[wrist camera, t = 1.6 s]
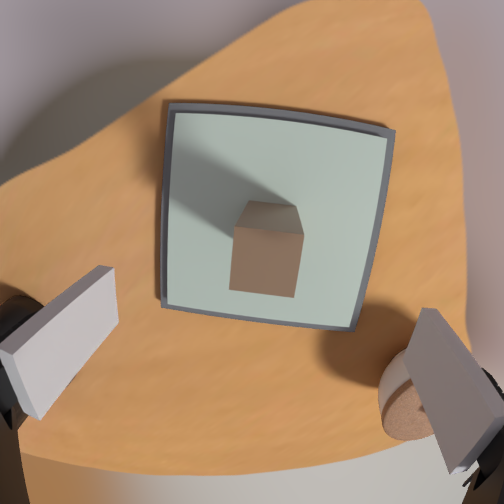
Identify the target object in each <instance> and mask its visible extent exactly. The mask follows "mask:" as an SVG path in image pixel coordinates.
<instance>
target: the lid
mask: <svg viewBox="0 0 504 504" xmlns="http://www.w3.org/2000/svg"><path fill="white" fill-rule="evenodd" d="M386 144H387V138H382V137H378V136H373V135H368V134H363V133H358V132H353V131H348V130H342V129H337V128H331V127H325V126H319V125H312V124H305V123H298V122H291V121H283V120H274V119H265V118H255V117H244V116H231V115H215V114H193V113H176V115H175V125H174V136H173V148H172V161H171V176H170V194H169V216H168V256H167V299H168V304H170V305H176V306H182V307H188V308H194V309H201V310H207V311H214V312H221V313H227V314H235V315H242V316H249V317H257V318H265V319H273V320H281V321H290V322H299V323H309V324H319V325H329V326H340V327H349V326H350V322H351V319H352V315H353V311H354V308H355V304H356V300H357V296H358V292H359V288H360V284H361V280H362V276H363V272H364V268H365V263H366V259H367V254H368V250H369V245H370V240H371V236H372V231H373V226H374V220H375V215H376V210H377V204H378V198H379V192H380V186H381V180H382V174H383V167H384V160H385V152H386Z"/></svg>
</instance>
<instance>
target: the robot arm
mask: <svg viewBox="0 0 504 504" xmlns="http://www.w3.org/2000/svg"><path fill="white" fill-rule="evenodd" d="M118 323H119V320H118V311H117V301H116V290H115V276H114V268H113V267H107V266H102V265H99V266H97V267H96V268H94V269H93V270H92V271H90V272H89V273H88V274H86V275H85V276H84V277H82V278H81V279H80V280H78V281H77V282H76V283H74V284H73V285H72V286H70V287H69V288H68V289H66V290H65V291H64V292H63V293H61V294H60V295H59V296H57V297H56V298H55V299H54V300H52V301H51V302H50V303H48V304H47V305H46V306H45V307H43V306H42V305H40V304H39V303H38V302H36V301H34V300H32V299H30V298H28V297H24V296H14V297H12V298H10V299H9V300H7V301H6V302H5V303H3V304H2V305H1V306H0V504H30V502H29V498H28V493H27V489H26V484H25V479H24V474H23V468H22V462H21V455H20V448H19V440H18V431H17V430H18V429H19V427H20V426H21V425H22V423H23V422H24V421H25V419H26V418H27V417H28V415H30V416H32V417H34V418H36V419H37V420H39V421H40V420H41V419H42V417H43V416H44V415H45V413H46V412H47V411H48V410H49V408H50V407H51V406H52V404H53V403H54V402H55V400H56V399H57V398H58V397H59V395H60V394H61V393H62V391H63V390H64V389H65V388H66V387H67V386H68V385H69V384H70V383H71V381H72V380H73V379H74V377H75V376H76V374H77V373H78V371H79V370H80V369H81V368H82V366H83V365H84V364H85V363H86V361H87V360H88V359H89V358H90V357H91V355H92V354H93V353H94V352H95V350H96V349H97V348H98V347H99V346H100V344H101V343H102V342H103V341H104V340H105V338H106V337H107V336H108V335H109V334H110V332H111V331H112V330H113V329H114V328H115V327H116V325H117V324H118ZM402 360H403V362H404V365H405V367H406V369H407V371H408V373H409V375H410V378H411V380H412V382H413V384H414V387H415V389H416V391H417V393H418V396H419V398H420V400H421V403H422V405H423V407H424V410H425V412H426V415H427V417H428V419H429V422H430V424H431V427H432V429H433V432H434V434H435V437H436V439H437V442H438V445H439V447H440V450H441V452H442V455H443V458H444V460H445V463H446V466H447V468H448V472H449V474H455V473H459V472H464V471H467V470H468V469H469V468H470V467H471V465H472V464H473V463H474V462H475V461H476V460H477V462H478V464H479V468H477V470H476V471H475V472H474V473H473V474H472V475H471V476H470V477H469V478H468V479H467V480H466V481H465V482H464V484H463V485H462V486H463V487H465V486H466V485H467V484H468V483H469V482H471V483H470V485H469V487H468V490H467V493H466V495H465V498H464V500H463V502H462V504H504V393H502V390H501V388H500V387H499V386H498V384H497V382H496V381H495V379H494V378H493V377H492V375H490V374H489V373H488V372H487V371H486V370H484V369H483V368H481V367H480V366H479V364H478V363H477V361H476V360H475V359H474V357H473V356H472V355H471V353H470V352H469V350H468V349H467V348H466V346H465V345H464V344H463V342H462V341H461V340H460V338H459V337H458V336H457V334H456V333H455V332H454V331H453V329H452V328H451V327H450V325H449V324H448V323H447V322H446V320H445V319H444V318H443V316H442V315H441V314H440V313H439V311H438V310H437V309H433V308H422V309H421V312H420V315H419V318H418V320H417V323H416V326H415V329H414V331H413V334H412V337H411V339H410V342H409V344H408V347H407V349H406V352H405V354H404V357H403V359H402Z"/></svg>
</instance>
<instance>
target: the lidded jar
mask: <svg viewBox="0 0 504 504" xmlns="http://www.w3.org/2000/svg"><path fill="white" fill-rule="evenodd" d="M406 349H407V348H406ZM406 349H404V350H403V351H401V352H399V353H398V354H397V355H396V356H395V357H394V358H393V359H392V360H391V362H390V364H389V365H388V366H387V367H386V369H385V371H384V372H383V375H382V377H381V379H380V383H379V388H378V404H379V410H380V414H381V419H382V425H383V428H384V430H385V432H386V433H387V435H389V436H390V437H392V438H394V439H397V440H403V441H410V440H417V439H422V438H425V437H428V436H430V435H432V434H434V432H433V429H432V427H431V424H430V422H429V419H428V417H427V415H426V412H425V410H424V407H423V405H422V403H421V400H420V398H419V396H418V393H417V391H416V389H415V387H414V384H413V382H412V380H411V378H410V375H409V373H408V371H407V369H406V367H405V365H404V362H403V360H402V359H403V357H404V354H405V352H406Z"/></svg>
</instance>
